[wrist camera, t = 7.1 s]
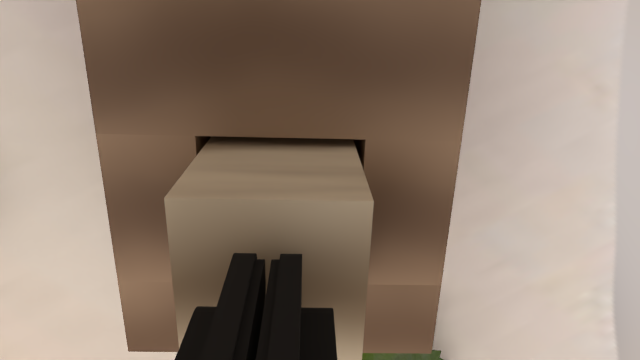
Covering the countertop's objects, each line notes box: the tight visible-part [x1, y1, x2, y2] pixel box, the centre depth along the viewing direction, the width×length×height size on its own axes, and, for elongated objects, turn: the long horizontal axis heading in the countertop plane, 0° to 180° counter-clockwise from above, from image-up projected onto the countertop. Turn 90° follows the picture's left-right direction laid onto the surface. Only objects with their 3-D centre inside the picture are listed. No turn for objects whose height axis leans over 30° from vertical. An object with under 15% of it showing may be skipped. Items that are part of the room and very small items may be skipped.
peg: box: [164, 136, 374, 360], centre depth 16 cm, size 5×5×8 cm
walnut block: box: [76, 0, 481, 354], centre depth 18 cm, size 24×12×8 cm, turn 178°
